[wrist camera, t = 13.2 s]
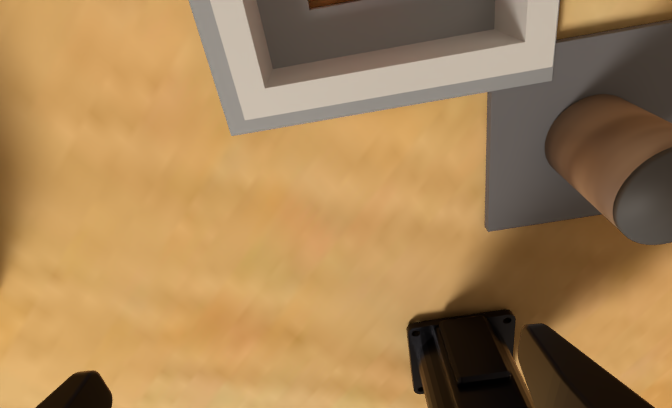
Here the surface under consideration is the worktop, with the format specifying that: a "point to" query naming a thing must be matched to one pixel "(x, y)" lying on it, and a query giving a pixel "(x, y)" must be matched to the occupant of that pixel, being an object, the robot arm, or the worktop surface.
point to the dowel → (617, 163)
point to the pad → (550, 101)
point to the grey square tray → (367, 54)
